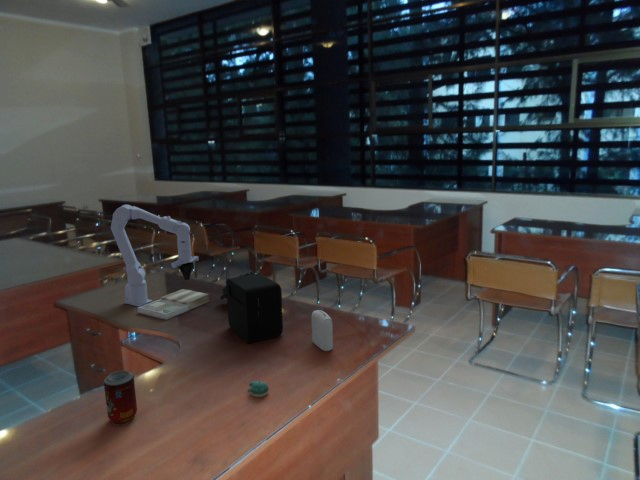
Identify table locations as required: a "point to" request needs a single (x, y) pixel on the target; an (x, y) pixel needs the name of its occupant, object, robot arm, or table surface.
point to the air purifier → (254, 307)
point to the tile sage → (170, 309)
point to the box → (160, 314)
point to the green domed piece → (258, 389)
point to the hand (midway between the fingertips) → (186, 279)
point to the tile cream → (157, 306)
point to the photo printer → (322, 330)
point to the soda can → (120, 397)
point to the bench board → (187, 298)
